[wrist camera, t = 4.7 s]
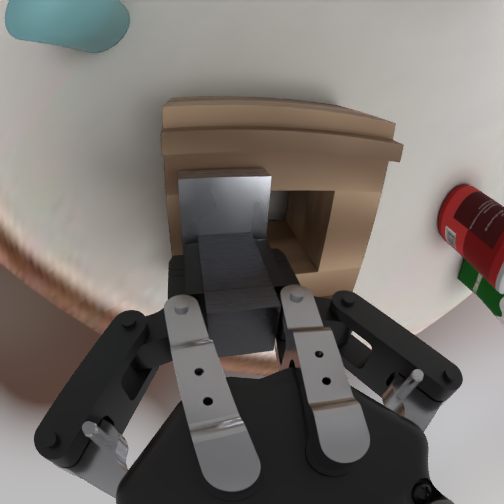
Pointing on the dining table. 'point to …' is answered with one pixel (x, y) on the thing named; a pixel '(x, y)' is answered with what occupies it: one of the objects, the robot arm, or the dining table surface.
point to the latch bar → (231, 255)
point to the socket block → (290, 174)
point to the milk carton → (482, 289)
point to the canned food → (475, 231)
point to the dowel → (68, 22)
